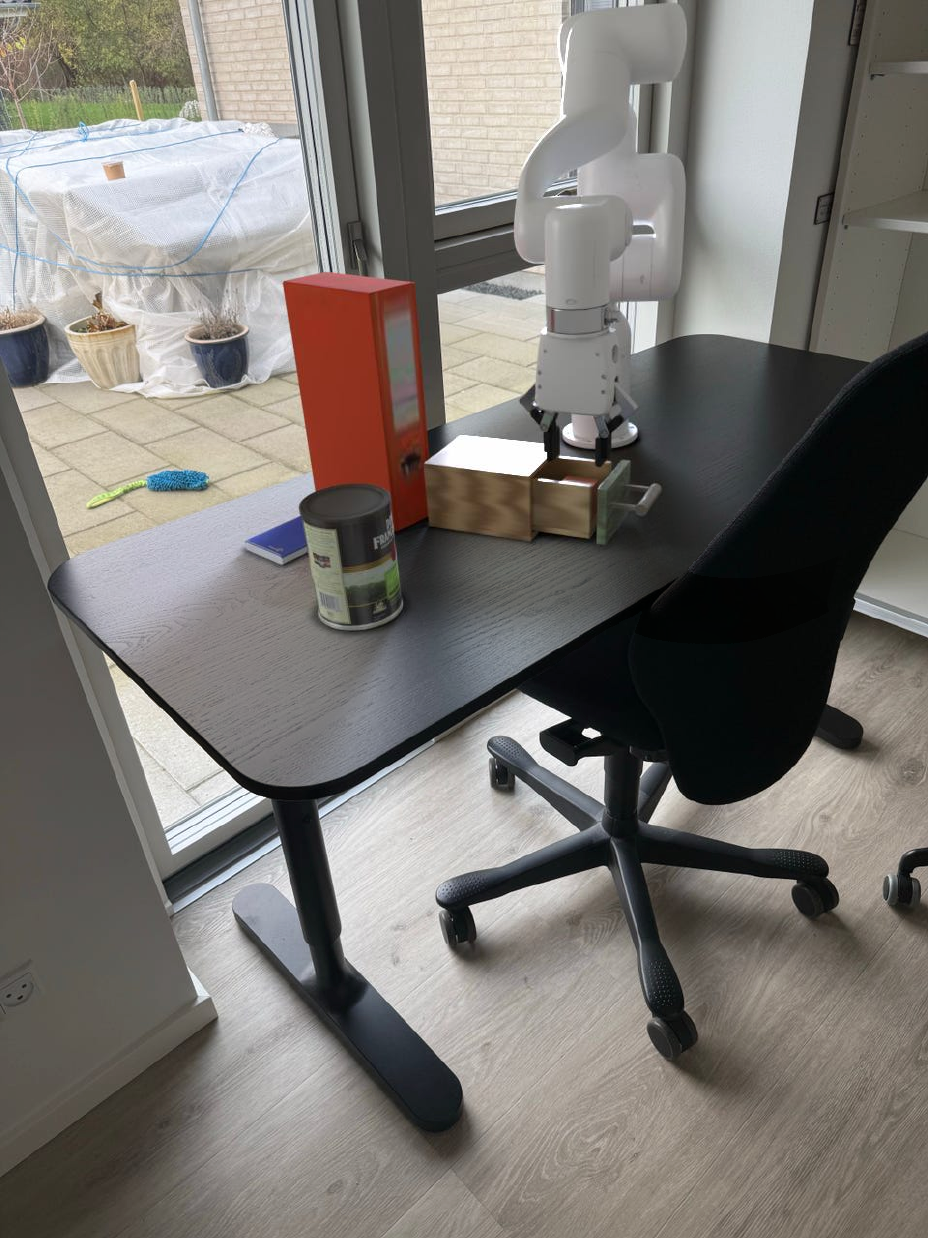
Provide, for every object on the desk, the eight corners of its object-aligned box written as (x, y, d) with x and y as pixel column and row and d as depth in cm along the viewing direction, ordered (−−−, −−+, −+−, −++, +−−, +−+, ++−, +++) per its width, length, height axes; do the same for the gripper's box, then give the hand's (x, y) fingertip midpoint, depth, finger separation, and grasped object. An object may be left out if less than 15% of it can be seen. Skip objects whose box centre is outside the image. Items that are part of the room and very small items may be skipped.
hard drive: (281, 555, 115) (351, 521, 122) (244, 539, 119) (313, 507, 127) (283, 565, 115) (352, 531, 123) (246, 549, 120) (315, 517, 128)
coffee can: (412, 588, 108) (400, 482, 101) (391, 633, 99) (377, 521, 92) (332, 585, 110) (315, 481, 102) (306, 629, 101) (285, 519, 94)
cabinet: (560, 507, 125) (560, 445, 120) (530, 541, 117) (528, 476, 112) (464, 494, 131) (460, 434, 126) (429, 526, 123) (423, 463, 118)
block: (566, 506, 121) (566, 475, 118) (598, 510, 119) (599, 479, 116) (554, 519, 117) (554, 488, 115) (587, 524, 115) (587, 492, 113)
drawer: (663, 517, 118) (666, 464, 114) (641, 550, 111) (644, 494, 106) (531, 500, 126) (530, 449, 122) (503, 529, 118) (500, 476, 114)
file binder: (357, 486, 137) (327, 270, 120) (435, 512, 126) (414, 280, 110) (317, 503, 132) (280, 281, 115) (394, 532, 122) (366, 293, 105)
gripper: (656, 314, 104) (649, 457, 113) (522, 309, 111) (526, 444, 120) (638, 329, 98) (633, 479, 108) (499, 323, 105) (505, 464, 115)
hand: (577, 459), depth 114 cm, fingers open, 6 cm apart
